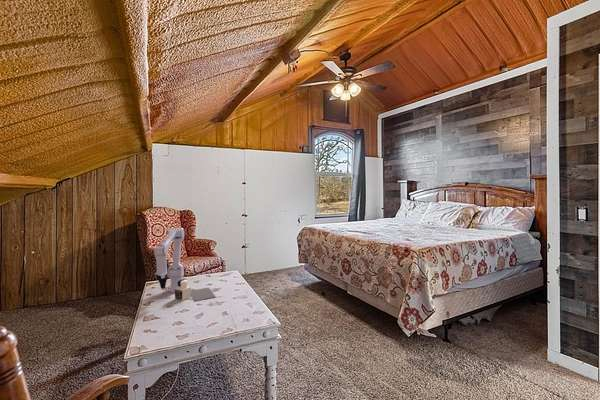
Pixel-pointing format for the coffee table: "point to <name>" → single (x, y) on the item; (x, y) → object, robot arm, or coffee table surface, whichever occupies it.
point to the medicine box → (182, 290)
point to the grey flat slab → (202, 294)
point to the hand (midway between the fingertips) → (162, 286)
